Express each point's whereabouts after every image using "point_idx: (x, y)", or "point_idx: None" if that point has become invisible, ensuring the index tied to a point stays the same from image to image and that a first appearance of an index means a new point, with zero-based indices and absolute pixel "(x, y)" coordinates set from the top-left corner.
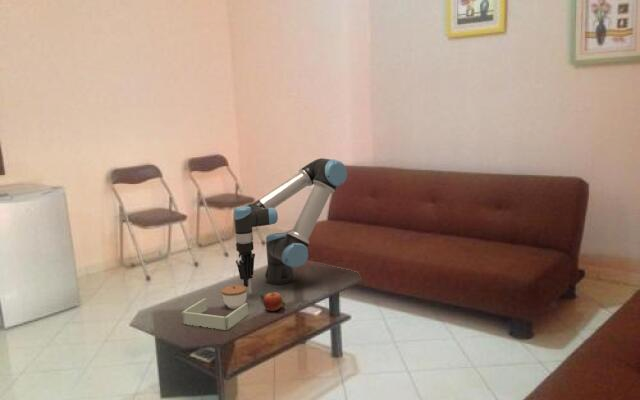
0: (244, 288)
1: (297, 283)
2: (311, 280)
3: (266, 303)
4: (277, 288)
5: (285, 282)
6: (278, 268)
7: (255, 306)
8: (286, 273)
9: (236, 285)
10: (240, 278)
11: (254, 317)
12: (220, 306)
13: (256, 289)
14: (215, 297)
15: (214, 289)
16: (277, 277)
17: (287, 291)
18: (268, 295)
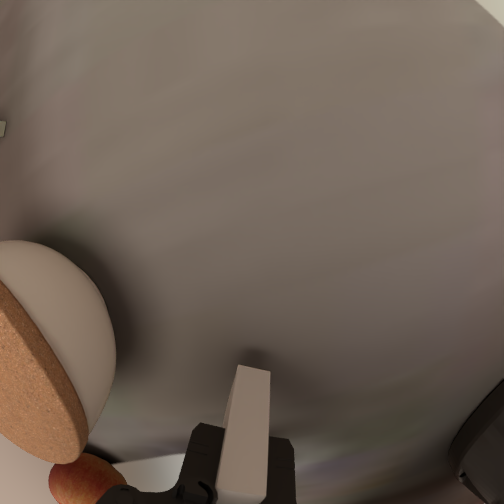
0: (29, 449)
1: (432, 485)
2: (442, 498)
3: (50, 471)
4: (397, 457)
5: (450, 463)
6: (497, 495)
7: (102, 414)
8: (473, 491)
9: (37, 404)
10: (106, 493)
11: None
12: (43, 199)
13: (419, 369)
14: (228, 55)
15: (430, 11)
16: (472, 463)
17: (338, 495)
18: (60, 501)
